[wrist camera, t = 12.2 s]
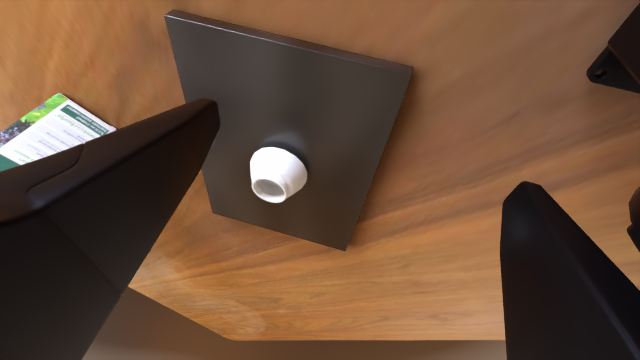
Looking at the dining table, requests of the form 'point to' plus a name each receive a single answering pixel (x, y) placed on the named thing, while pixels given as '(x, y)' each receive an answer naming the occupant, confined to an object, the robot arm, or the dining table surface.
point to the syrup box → (48, 132)
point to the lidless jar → (276, 174)
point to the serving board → (289, 121)
